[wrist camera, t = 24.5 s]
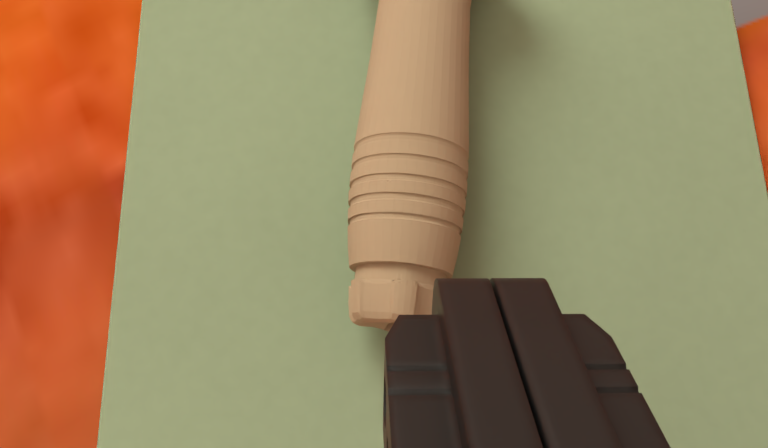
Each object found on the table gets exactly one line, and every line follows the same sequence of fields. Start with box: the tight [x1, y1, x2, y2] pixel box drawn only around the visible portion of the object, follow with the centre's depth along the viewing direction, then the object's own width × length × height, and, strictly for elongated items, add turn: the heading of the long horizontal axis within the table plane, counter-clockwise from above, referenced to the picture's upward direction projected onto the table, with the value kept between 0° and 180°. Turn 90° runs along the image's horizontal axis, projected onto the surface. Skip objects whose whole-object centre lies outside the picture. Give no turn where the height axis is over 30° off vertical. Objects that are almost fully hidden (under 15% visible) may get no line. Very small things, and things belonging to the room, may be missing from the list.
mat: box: [97, 0, 768, 448], centre depth 27 cm, size 24×20×1 cm
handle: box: [348, 0, 472, 331], centre depth 25 cm, size 5×6×15 cm
